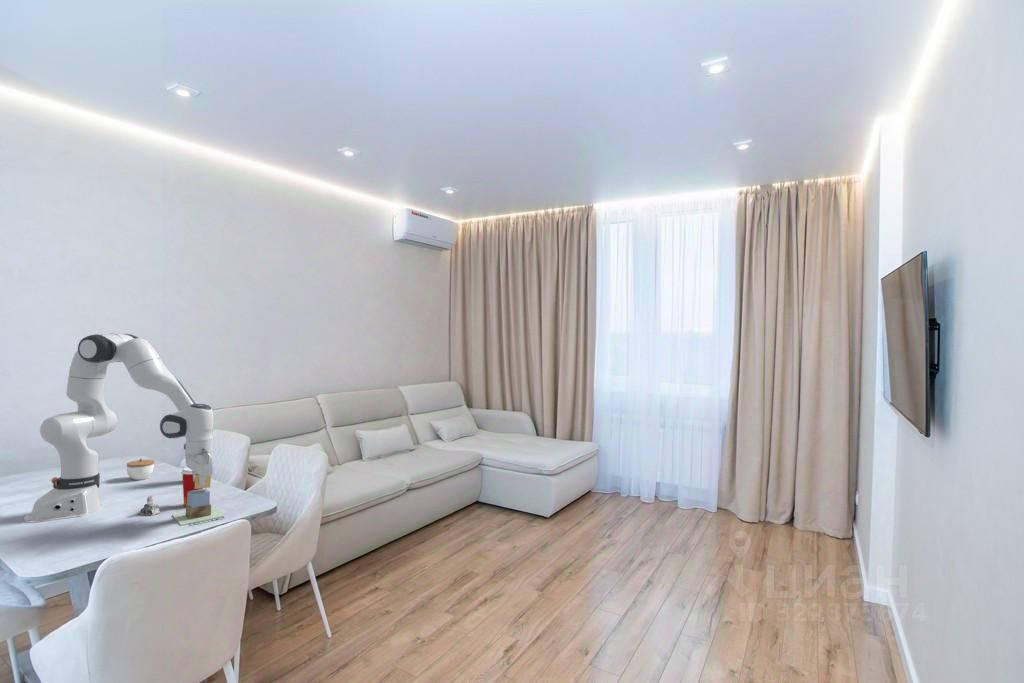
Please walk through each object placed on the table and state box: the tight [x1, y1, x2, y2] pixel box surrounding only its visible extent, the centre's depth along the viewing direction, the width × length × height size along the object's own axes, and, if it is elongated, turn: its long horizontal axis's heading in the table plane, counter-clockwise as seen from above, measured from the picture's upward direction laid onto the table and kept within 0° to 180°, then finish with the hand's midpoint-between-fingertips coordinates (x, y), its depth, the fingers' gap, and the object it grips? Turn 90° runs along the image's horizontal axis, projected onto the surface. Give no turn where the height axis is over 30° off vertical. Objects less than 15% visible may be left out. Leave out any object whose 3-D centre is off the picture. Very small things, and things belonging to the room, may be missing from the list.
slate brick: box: [187, 488, 211, 508], centre depth 191 cm, size 6×5×5 cm
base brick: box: [185, 503, 212, 519], centre depth 191 cm, size 7×6×4 cm
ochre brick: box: [195, 473, 212, 489], centre depth 192 cm, size 5×4×5 cm
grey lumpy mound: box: [137, 495, 162, 517], centre depth 195 cm, size 9×9×8 cm
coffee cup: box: [180, 466, 204, 507], centre depth 205 cm, size 8×8×15 cm
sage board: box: [172, 506, 225, 526], centre depth 191 cm, size 14×14×1 cm
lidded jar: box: [126, 458, 155, 481], centre depth 240 cm, size 11×11×9 cm
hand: (198, 483), depth 191 cm, fingers closed on ochre brick, 4 cm apart
